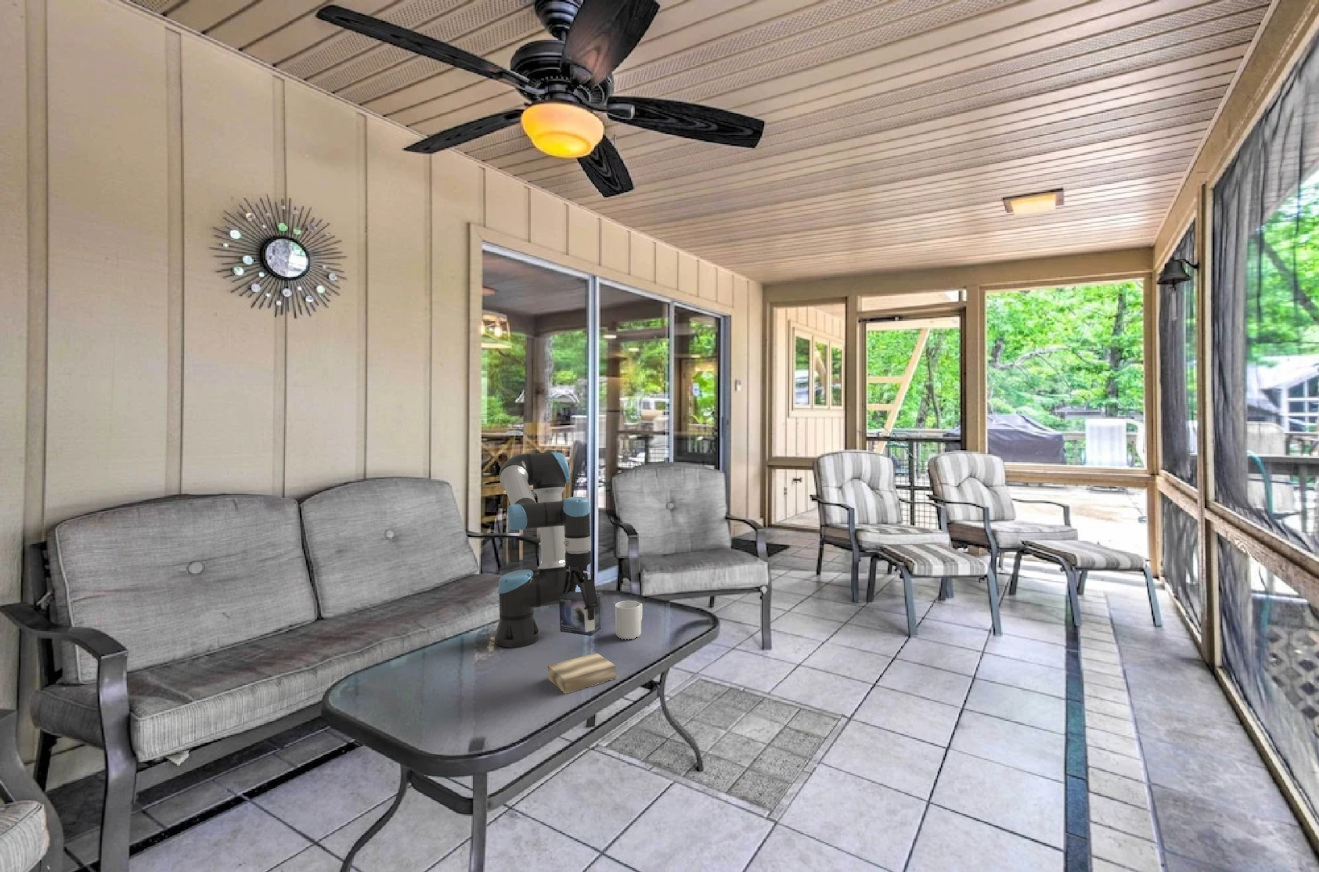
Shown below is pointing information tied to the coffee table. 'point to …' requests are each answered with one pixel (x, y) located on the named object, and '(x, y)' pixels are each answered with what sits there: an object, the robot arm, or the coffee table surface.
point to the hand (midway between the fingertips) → (580, 624)
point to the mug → (628, 619)
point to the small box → (576, 614)
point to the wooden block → (581, 672)
